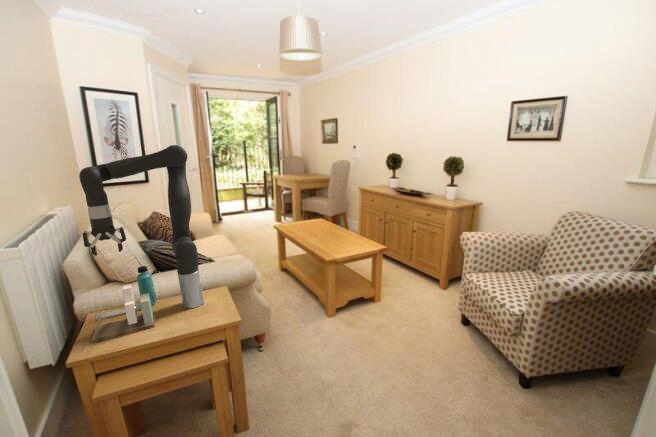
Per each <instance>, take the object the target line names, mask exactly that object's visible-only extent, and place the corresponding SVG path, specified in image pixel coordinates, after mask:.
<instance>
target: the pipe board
mask: <svg viewBox="0 0 656 437" xmlns="http://www.w3.org/2000/svg"><path fill="white" fill-rule="evenodd" d="M155 325H156V312H155V311H153V323H149V324H145V323H144V318H143V314H140V315H138V320H137V323H134V324H130V325H129V324H128V319H127V318H124V319H121V320H116V321H113V322H108V323H104V324H99V325H96V327H95V329H94V332H93V335H92V338H91V343H92V344H96V343H99V342H103V341H107V340H111V339H114V338H115V339H116V338H119V337H122V336H125V335H130V334H134V333H137V332H138V333H139V332H140V331H144V330H145V331H146V330H149V329H152V328H155V327H156V326H155Z"/></svg>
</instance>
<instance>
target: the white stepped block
mask: <svg viewBox="0 0 656 437" xmlns="http://www.w3.org/2000/svg"><path fill="white" fill-rule="evenodd" d="M121 290H122V291H121V292H122V296H123V299H124V304H123V305H124V308H125V310H126V314H125V315H126V319H128V324H129V325H130V324H134V323H137V320H138V316H139V313H140V312H139V311H136V310H135V306H136V305H138V304H137V299H136V294H134V289H133V285H132V284H124V285H123V286H122V289H121Z"/></svg>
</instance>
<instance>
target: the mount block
mask: <svg viewBox="0 0 656 437" xmlns="http://www.w3.org/2000/svg"><path fill="white" fill-rule="evenodd" d="M140 297H141V298H140V301H139V305H140V304H141V309H142V310H141V312H142V315H143V318H144V323H145V324H149V323H153V312H154V311H153V306H152V305H153V304H151V300H150V295H149V293H146V294H141V296H140Z"/></svg>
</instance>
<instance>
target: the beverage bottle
mask: <svg viewBox="0 0 656 437" xmlns="http://www.w3.org/2000/svg"><path fill="white" fill-rule="evenodd" d="M148 271H149V270H148V266H146V265H143V266H142V265H141V266H139V267H137V273H138V275H137V276H136V281H137V286H138V292H139V297H140V299H141V294H146V293H149V295H150V300H151V305H153V304H155V303H156V302H157V300H158V299H157V295H156V291H155V285H154V284H155V283H154V281H153V277H152V273H150V272H148Z"/></svg>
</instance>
